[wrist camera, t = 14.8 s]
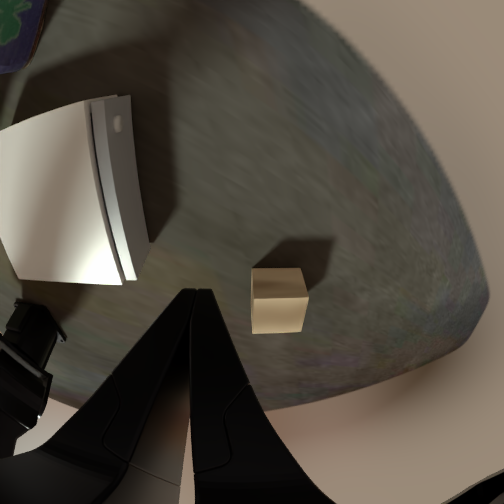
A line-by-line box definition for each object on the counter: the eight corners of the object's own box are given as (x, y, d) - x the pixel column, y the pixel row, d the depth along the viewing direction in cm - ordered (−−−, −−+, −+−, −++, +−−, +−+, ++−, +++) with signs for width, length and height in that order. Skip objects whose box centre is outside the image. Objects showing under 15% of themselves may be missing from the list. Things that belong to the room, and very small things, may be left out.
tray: (153, 248, 20) (140, 280, 17) (48, 249, 20) (28, 275, 17) (134, 94, 14) (107, 98, 10) (17, 127, 13) (-14, 141, 10)
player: (139, 248, 20) (122, 284, 17) (41, 249, 20) (18, 278, 16) (117, 94, 14) (83, 100, 10) (10, 128, 13) (-26, 144, 10)
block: (294, 302, 25) (300, 331, 22) (250, 303, 24) (252, 333, 21) (300, 267, 22) (308, 297, 19) (251, 268, 22) (253, 298, 19)
